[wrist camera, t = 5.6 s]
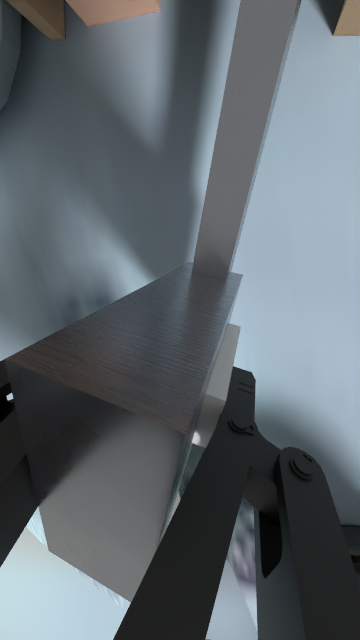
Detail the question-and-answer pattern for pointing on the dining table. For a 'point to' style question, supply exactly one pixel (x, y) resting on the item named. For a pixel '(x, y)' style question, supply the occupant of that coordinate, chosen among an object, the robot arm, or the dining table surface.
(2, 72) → the pie
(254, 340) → the dining table surface
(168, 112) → the dining table surface
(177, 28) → the dining table surface
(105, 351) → the hook tool
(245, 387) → the robot arm
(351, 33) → the shelf
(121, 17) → the block
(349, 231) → the dining table surface
